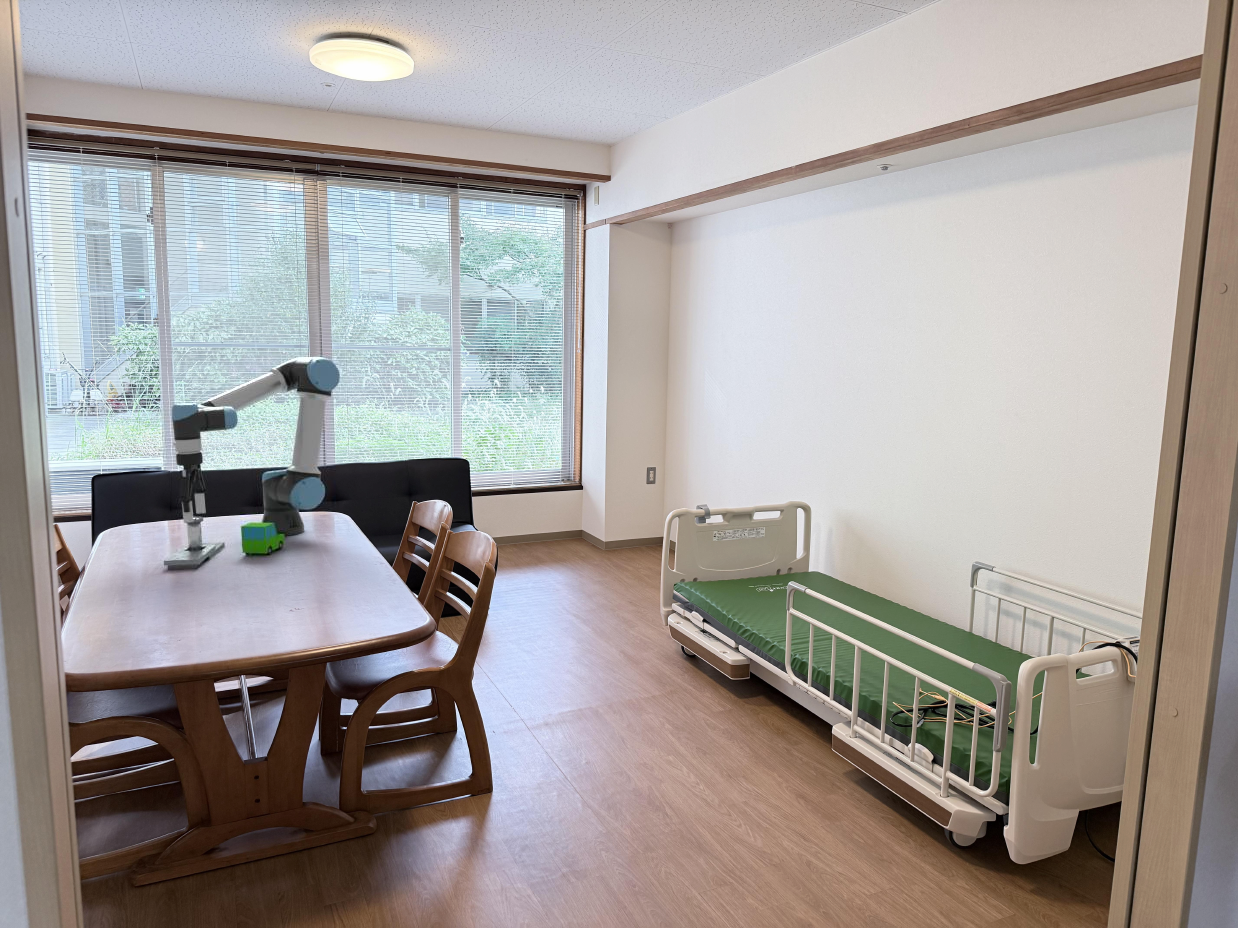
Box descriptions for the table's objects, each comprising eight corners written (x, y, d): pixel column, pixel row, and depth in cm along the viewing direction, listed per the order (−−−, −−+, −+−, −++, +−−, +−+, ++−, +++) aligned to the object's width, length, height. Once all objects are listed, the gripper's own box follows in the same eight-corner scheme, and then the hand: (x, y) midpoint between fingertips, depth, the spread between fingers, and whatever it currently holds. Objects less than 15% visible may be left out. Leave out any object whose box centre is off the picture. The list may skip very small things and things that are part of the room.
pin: (207, 555, 280) (205, 516, 279) (203, 559, 275) (200, 519, 273) (189, 556, 279) (186, 516, 277) (184, 560, 274) (181, 520, 272)
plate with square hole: (224, 546, 293) (224, 537, 292) (199, 568, 263) (198, 559, 263) (193, 547, 291) (192, 539, 290) (164, 570, 262) (163, 560, 261)
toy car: (289, 547, 292) (287, 518, 290) (269, 556, 279) (267, 526, 277) (260, 546, 293) (258, 518, 291) (239, 556, 280) (237, 526, 278)
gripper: (188, 447, 284) (193, 510, 287) (163, 458, 259) (170, 526, 263) (212, 446, 285) (217, 508, 288) (189, 457, 261) (196, 525, 264)
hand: (195, 517), depth 276 cm, fingers open, 13 cm apart
